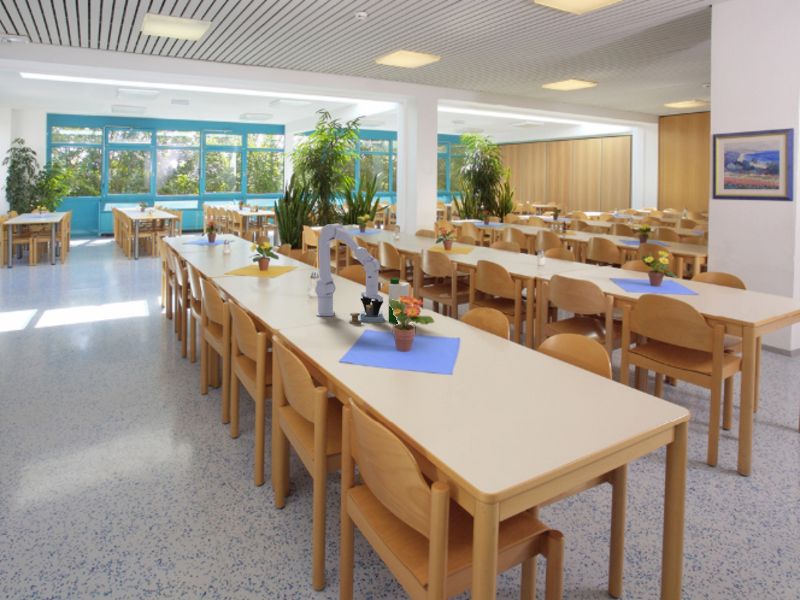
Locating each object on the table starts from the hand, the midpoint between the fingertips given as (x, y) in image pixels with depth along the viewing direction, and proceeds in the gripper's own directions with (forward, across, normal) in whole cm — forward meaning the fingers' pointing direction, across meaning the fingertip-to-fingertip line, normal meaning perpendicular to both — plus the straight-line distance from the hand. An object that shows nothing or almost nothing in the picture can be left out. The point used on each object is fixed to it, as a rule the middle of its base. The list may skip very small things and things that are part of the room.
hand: (371, 313), depth 264 cm
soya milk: (+3, +10, +8) cm, 13 cm away
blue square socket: (+3, 0, 0) cm, 3 cm away
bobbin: (+3, +1, -10) cm, 10 cm away
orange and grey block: (+1, 0, 0) cm, 1 cm away
